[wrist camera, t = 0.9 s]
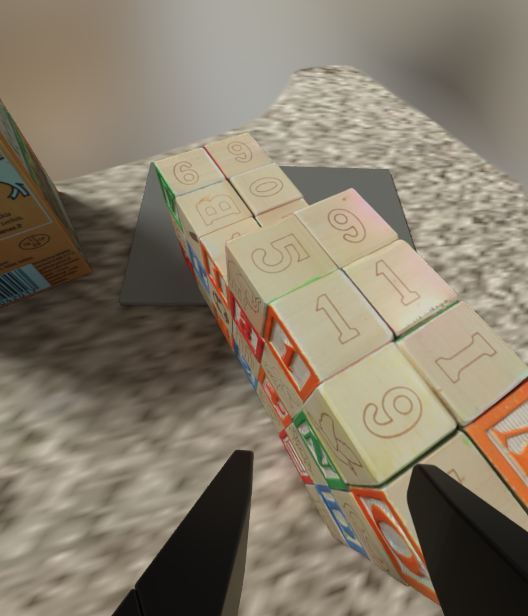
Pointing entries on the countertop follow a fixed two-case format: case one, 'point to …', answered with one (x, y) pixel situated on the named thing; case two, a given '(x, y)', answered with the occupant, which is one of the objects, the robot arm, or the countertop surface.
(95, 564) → the countertop surface
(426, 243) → the countertop surface
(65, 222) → the milk carton
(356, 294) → the stack of blocks
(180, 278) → the mat
